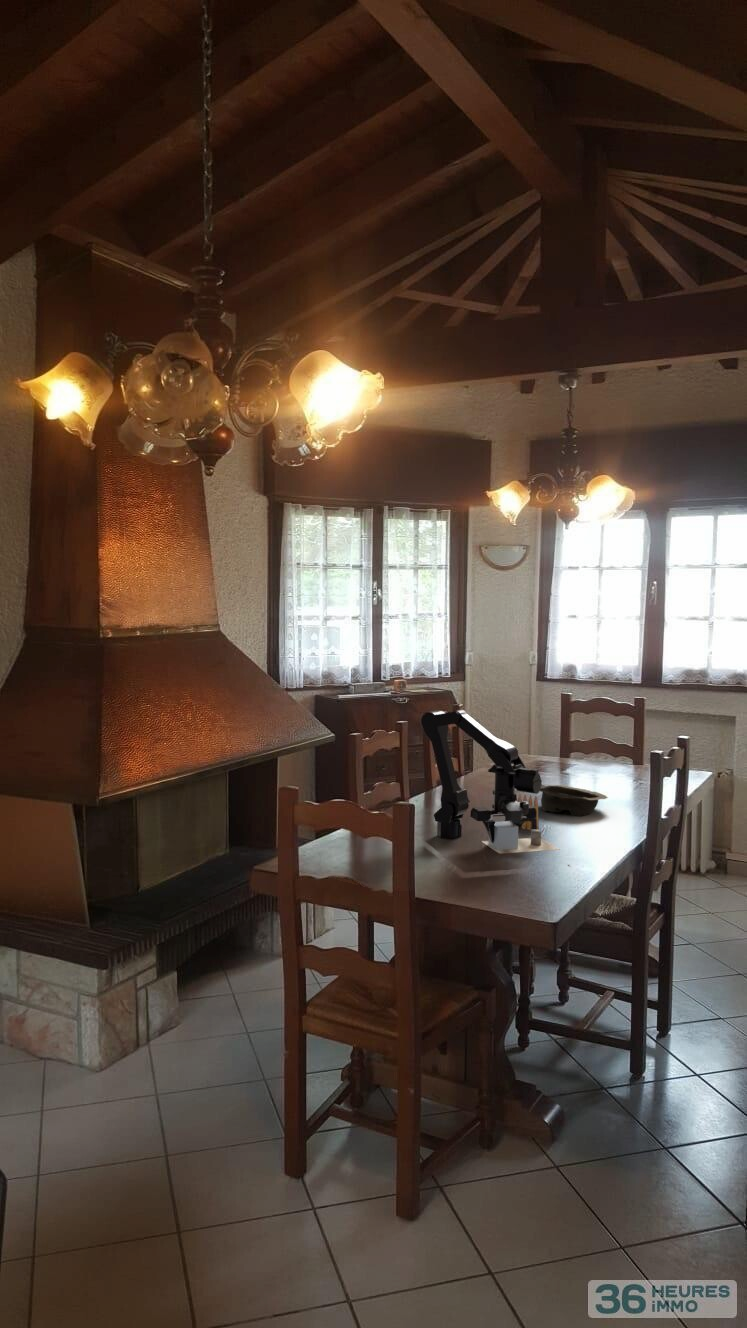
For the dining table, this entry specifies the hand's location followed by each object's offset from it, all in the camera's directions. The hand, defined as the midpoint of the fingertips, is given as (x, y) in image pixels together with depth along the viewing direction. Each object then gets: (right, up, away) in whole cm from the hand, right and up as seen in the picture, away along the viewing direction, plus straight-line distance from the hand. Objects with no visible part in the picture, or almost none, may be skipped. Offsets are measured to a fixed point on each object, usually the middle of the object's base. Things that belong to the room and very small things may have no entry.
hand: (503, 841), depth 262 cm
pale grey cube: (0, -1, 0) cm, 1 cm away
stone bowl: (+31, +1, +51) cm, 59 cm away
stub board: (+5, -3, +2) cm, 6 cm away
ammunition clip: (+9, -1, +21) cm, 23 cm away
